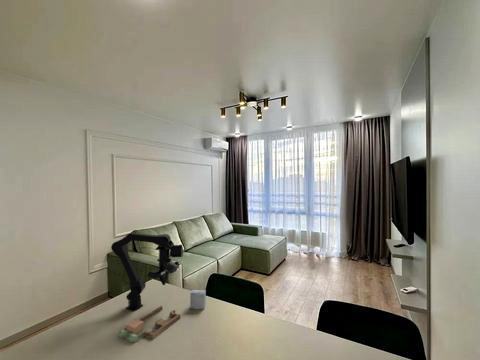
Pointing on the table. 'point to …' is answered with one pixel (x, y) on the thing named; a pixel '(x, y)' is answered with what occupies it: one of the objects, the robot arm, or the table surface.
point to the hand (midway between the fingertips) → (163, 284)
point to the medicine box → (198, 299)
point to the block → (135, 327)
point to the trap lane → (159, 325)
